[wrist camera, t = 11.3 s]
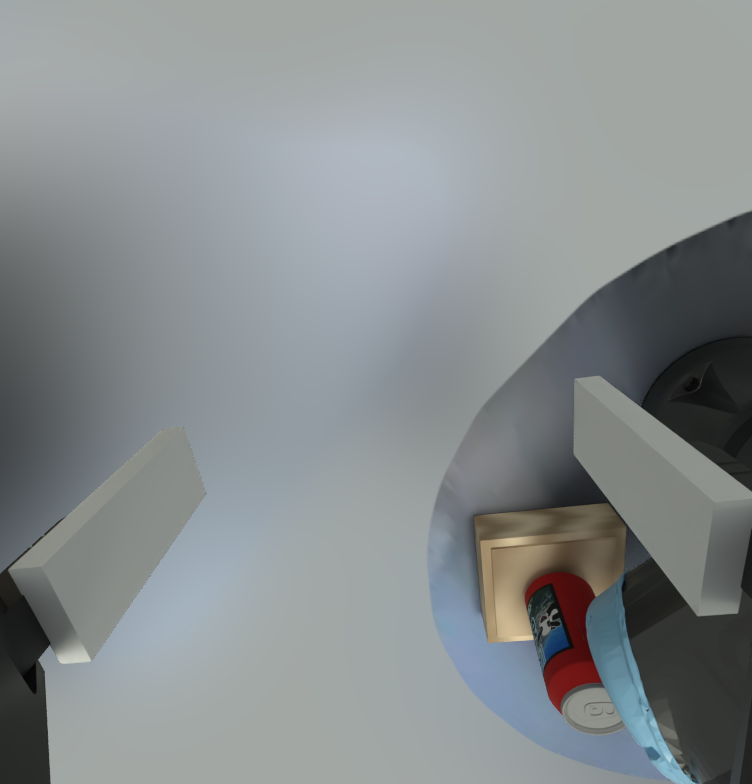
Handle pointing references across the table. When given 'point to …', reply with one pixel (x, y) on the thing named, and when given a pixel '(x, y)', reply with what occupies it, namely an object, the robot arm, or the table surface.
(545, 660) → the beverage can
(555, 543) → the square tray
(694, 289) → the table surface
